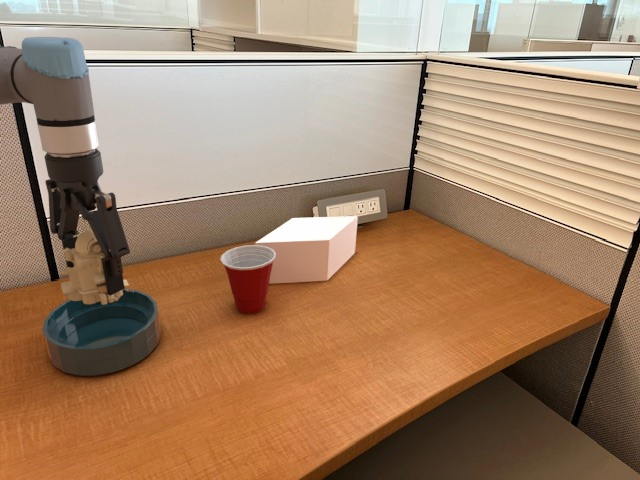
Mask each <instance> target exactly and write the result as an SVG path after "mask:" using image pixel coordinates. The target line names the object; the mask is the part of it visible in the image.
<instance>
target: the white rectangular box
mask: <svg viewBox="0 0 640 480" xmlns="http://www.w3.org/2000/svg"><path fill="white" fill-rule="evenodd" d="M358 221H359V216H358V215H348V216H347V215H345V216H313V217H312V216H311V217H310V216H309V217H292V218H290V219H289V220H287V221H286V222H284V223H283V224H281V225H279V226H278V227H277V228H275V229H274V230H273V231H271V232H269V233H268V234H266V235H264V236H263V237H261V238H260V239H258V240H257V241H255V242H254V245H260V246H266V247H269V248H271V249H273V250H274V251H275V252H276V257H275V260H274V261H273V266H272V271H271V274H270V280H269V285H270V284H272V285H273V284H286V283H287V284H290V283H307V282H310V283H311V282H326V281H329V279H330V278H332V277H333V276H334V274H336V273H337V272H338V271H339V270H340V269H341V268H342V267H343V266H344V265H345V264H346V263H347V262H348V261H349V259H351V258H352V256H354V255H355V254H356V246H357V245H356V244H357V232H358Z"/></svg>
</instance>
